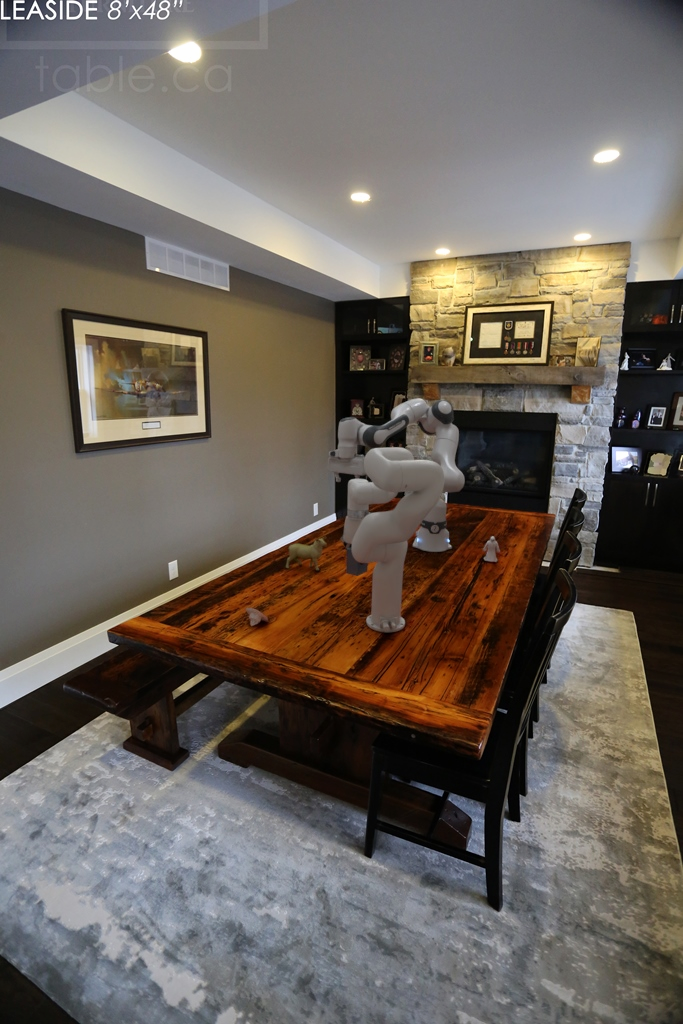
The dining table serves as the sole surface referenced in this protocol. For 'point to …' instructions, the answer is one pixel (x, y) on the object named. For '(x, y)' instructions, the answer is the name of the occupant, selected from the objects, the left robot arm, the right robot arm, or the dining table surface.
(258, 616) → the seashell
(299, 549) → the toy
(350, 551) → the brick
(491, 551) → the figurine
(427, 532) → the right robot arm
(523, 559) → the dining table surface
